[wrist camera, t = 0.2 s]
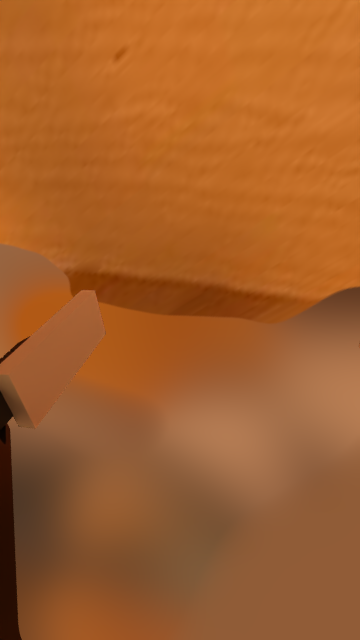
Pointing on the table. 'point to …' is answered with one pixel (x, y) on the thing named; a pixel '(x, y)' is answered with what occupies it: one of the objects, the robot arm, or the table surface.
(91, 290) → the robot arm
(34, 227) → the table surface
